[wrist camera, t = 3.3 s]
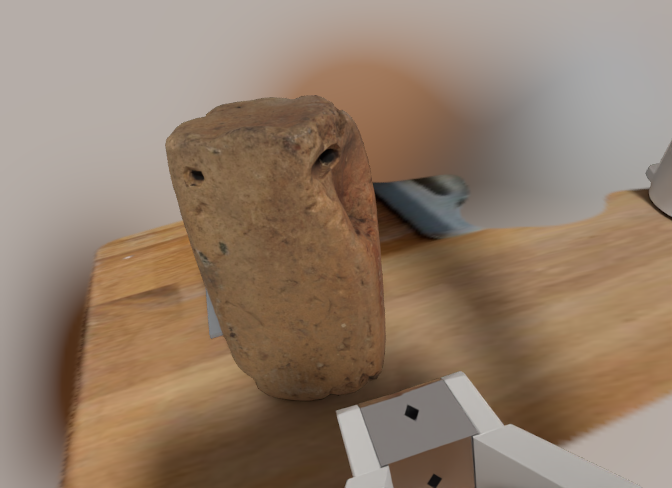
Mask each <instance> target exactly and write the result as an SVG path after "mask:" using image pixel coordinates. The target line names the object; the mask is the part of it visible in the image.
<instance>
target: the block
mask: <svg viewBox="0 0 672 488" xmlns="http://www.w3.org/2000/svg"><path fill="white" fill-rule="evenodd" d="M165 146H166V152H167V160H168V166H169V171H170V175H171V180H172V184H173V188H174V190H175V193H176V197H177V200H178V204H179V208H180V212H181V215H182V219H183V222H184V225H185V228H186V231H187V234H188V237H189V240H190V243H191V246H192V249H193V253H194V256H195V258H196V261H197V264H198V267H199V270H200V273H201V276H202V278H203V281H204V284H205V287H206V290H207V292H208V295H209V297H210V300H211V303H212V305H213V308H214V311H215V314H216V316H217V318H218V322H219V325H220V328H221V331H222V333H223V336H224V337H225V339H226V340H227V343H228V346H229V349H230V351H231V353H232V356H233V358H234V360H235V362H236V364H237V365H238V367H239V368H240V369H241V370H242V371H243V372H244V373H246V374H247V375H249V376H251V377H252V378H253V379H254V380H255V381H256V384H257V387H258V389H260V390H261V391H263V392H264V393H266V394H267V395H270V396H273V397H277V398H282V399H290V400H300V401H311V400H316V399H322V398H325V397H326V396H328V395H329V394H336V395H342V394H348V393H353V392H356V391H357V390H359V389H361V388H362V387H363V386H364V385H365V384H366V383H367V382H368V381H371V380H374V379H376V378H377V377H378V376H379V374H380V373H381V370H382V368H383V362H384V355H385V340H386V335H385V308H384V293H383V274H382V266H381V250H380V238H379V229H378V220H377V208H376V200H375V192H374V188H373V183H372V178H371V171H370V166H369V162H368V157H367V155H366V151H365V148H364V143H363V141H362V138H361V135H360V132H359V130H358V128H357V126H356V124H355V122H354V121H353V119H352V117H350V115H349V114H347V113H346V112H345V111H343V110H338V109H337V108H336V107H335V106H334V104H333V103H332V102H330V101H327V100H326V99H325V98H322V97H319V96H316V95H315V96H301V97H299V98H296V99H293V100H291V99H286V98H274V97H270V98H261V99H256V100H250V101H241V102H234V103H229V104H223V105H220V106H217V107H215V108H214V109H213V110H211V111H210V112H209V113H207V114H206V117H201V118H196V119H193V120H190V121H187V122H184V123H182V124H181V125H179V126H178V127H177V128H176V129H175V130H174V131H173V132H172V134H171V135H170V136H169V137H168V138H167V140H166V144H165Z"/></svg>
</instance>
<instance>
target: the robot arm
mask: <svg viewBox="0 0 672 488" xmlns="http://www.w3.org/2000/svg"><path fill="white" fill-rule="evenodd" d="M646 176H647V178H648V179H649V180H650V182H651V187H650V189H649V196H650V198H651V200H652V201H653V203H654V204H655V205H656V206H657V207H658V208H659V209H661V210H662V211H663V212H665V213H666V214H668V215H670V216H671V217H672V140H671V142H670V144H669V146H668V148H667V150H666V152H665V154H664V156H663V158H662V159H661V162H660V163H659V164H653V165H650V166H649V168H648V170H647V171H646ZM336 414H337V419H338V422H339V426H340V430H341V434H342V438H343V442H344V445H345V449H346V453H347V457H348V461H349V464H350V468H351V472H352V476H353V478H350V479H347V482H346V485H345V488H642V487H641V486H639V485H638V484H635V483H633V482H631V481H629V480H627V479H625V478H623V477H621V476H619V475H617V474H615V473H612V472H610V471H608V470H606V469H604V468H602V467H600V466H598V465H596V464H594V463H592V462H590V461H588V460H585V459H583V458H581V457H579V456H577V455H575V454H573V453H571V452H569V451H567V450H565V449H563V448H560V447H558V446H556V445H554V444H552V443H550V442H548V441H546V440H544V439H542V438H540V437H538V436H535V435H533V434H531V433H529V432H527V431H525V430H523V429H521V428H519V427H517V426H515V425H512V424H508V425H505V426H504V425H503V423H502V422H501V421H500V419H499V418H498V417H497V415H496V414H495V413H494V411H493V410H492V409H491V407H490V406H489V405H488V403H487V402H486V401H485V400H484V398H483V397H482V396H481V394H480V393H479V392H478V390H477V389H476V388H475V386H474V385H473V384H472V382H471V381H470V380H469V379H468V377H467V376H466V375H465V373H463V372H461V371H459V372H456V373H453V374H450V375H447V376H444V377H441V378H440V379H439V378H438V379H435V380H432V381H429V382H426V383H423V384H420V385H417V386H414V387H411V388H408V389H405V390H402V391H399V392H397V393H393V394H390V395H386V396H383V397H380V398H376V399H373V400H369V401H366V402H362V403H359V404H358V405H354V406H350V407H347V408H343V409H340V410H336Z"/></svg>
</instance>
